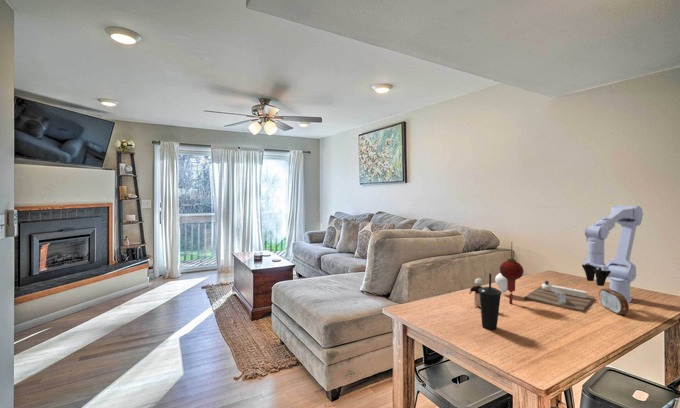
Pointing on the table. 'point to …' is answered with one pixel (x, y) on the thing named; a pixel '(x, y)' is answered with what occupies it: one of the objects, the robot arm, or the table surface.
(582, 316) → the table surface
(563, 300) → the block
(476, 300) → the grandmother figurine
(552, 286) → the pivot bar
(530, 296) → the pivot board
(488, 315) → the drinking cup
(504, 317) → the table surface
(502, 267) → the lantern
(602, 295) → the tin
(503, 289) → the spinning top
